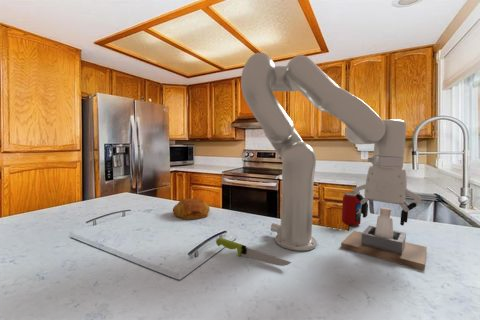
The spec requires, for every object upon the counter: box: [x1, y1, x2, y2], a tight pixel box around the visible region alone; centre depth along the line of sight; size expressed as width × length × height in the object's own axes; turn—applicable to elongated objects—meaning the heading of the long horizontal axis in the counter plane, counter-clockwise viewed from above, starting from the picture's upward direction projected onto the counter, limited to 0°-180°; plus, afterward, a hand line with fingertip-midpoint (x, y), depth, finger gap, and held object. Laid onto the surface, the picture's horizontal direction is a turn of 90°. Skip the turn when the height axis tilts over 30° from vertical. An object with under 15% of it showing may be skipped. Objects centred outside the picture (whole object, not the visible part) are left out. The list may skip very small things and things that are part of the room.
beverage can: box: [341, 192, 362, 227], centre depth 95 cm, size 7×7×12 cm
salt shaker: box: [375, 206, 394, 239], centre depth 71 cm, size 5×5×11 cm
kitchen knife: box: [215, 237, 292, 267], centre depth 64 cm, size 22×1×3 cm, turn 60°
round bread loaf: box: [172, 198, 210, 220], centre depth 103 cm, size 14×16×8 cm
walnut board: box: [340, 230, 428, 271], centre depth 72 cm, size 20×14×2 cm
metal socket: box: [361, 225, 407, 255], centre depth 71 cm, size 10×10×4 cm
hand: (382, 220), depth 71 cm, fingers open, 9 cm apart
